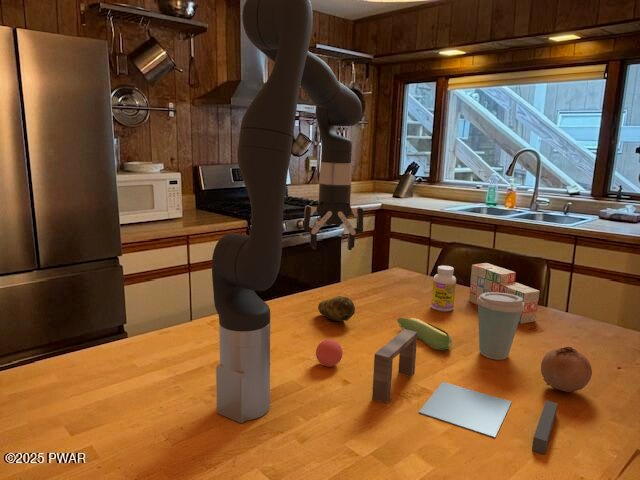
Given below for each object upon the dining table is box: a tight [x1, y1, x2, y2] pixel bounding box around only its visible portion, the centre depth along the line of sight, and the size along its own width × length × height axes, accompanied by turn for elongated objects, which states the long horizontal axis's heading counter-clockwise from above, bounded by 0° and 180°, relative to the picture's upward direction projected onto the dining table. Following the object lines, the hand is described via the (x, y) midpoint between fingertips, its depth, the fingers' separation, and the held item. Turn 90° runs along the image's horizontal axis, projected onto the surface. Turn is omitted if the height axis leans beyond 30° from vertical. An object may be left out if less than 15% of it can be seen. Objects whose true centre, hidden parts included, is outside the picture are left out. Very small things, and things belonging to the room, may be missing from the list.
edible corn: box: [396, 317, 453, 351], centre depth 127 cm, size 5×20×5 cm, turn 27°
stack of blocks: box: [468, 262, 540, 325], centre depth 148 cm, size 21×6×12 cm, turn 25°
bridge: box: [371, 329, 418, 404], centre depth 102 cm, size 15×3×10 cm, turn 148°
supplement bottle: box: [430, 265, 457, 312], centre depth 149 cm, size 7×7×13 cm
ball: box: [315, 338, 343, 368], centre depth 111 cm, size 6×6×6 cm
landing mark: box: [418, 381, 513, 439], centre depth 95 cm, size 14×14×1 cm
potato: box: [317, 295, 356, 322], centre depth 137 cm, size 8×13×8 cm, turn 15°
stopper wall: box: [531, 400, 558, 455], centre depth 88 cm, size 14×2×2 cm, turn 148°
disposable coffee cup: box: [477, 292, 524, 361], centre depth 118 cm, size 11×11×15 cm
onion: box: [540, 346, 593, 393], centre depth 102 cm, size 10×9×10 cm
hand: (332, 249), depth 120 cm, fingers open, 8 cm apart
